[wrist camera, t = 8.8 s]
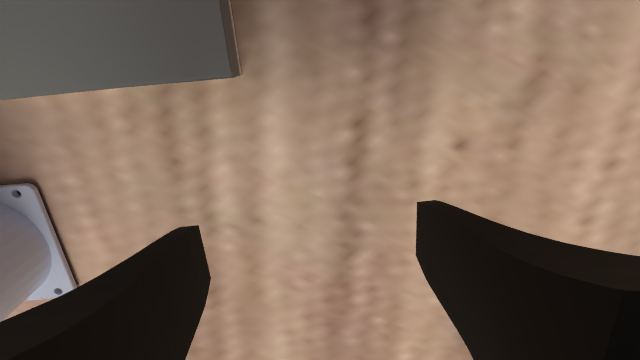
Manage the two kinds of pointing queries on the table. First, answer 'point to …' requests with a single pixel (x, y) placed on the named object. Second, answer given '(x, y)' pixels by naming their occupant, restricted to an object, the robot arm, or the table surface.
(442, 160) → the table surface
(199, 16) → the grill press
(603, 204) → the table surface
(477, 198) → the table surface
